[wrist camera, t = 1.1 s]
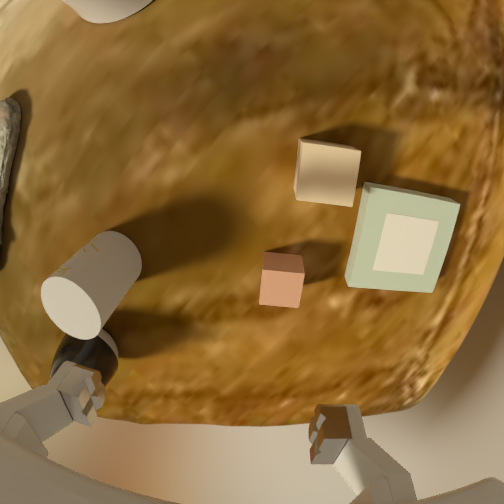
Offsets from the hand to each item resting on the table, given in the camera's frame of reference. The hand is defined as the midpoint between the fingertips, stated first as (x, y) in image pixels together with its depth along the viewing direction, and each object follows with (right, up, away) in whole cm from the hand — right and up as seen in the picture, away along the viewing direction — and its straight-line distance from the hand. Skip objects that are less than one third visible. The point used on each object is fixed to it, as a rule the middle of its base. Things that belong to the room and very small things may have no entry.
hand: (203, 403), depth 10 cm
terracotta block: (+5, +3, +28) cm, 28 cm away
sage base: (+20, +7, +24) cm, 32 cm away
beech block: (+9, +15, +22) cm, 28 cm away
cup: (-17, +5, +29) cm, 34 cm away
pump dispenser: (-24, -9, +36) cm, 44 cm away
